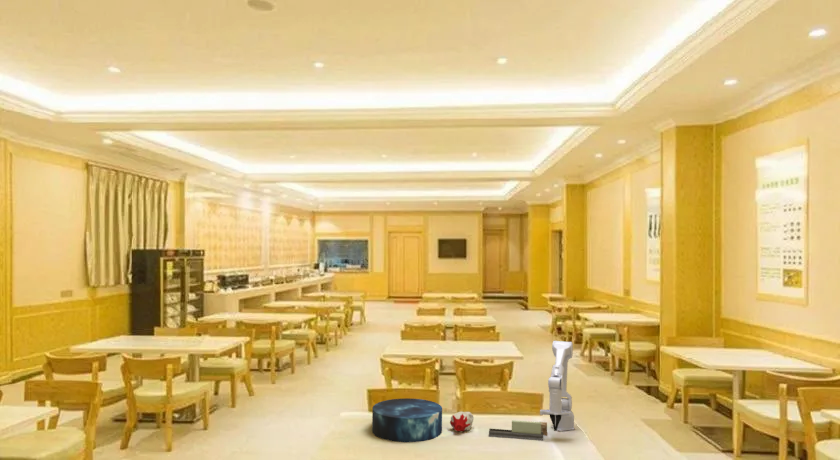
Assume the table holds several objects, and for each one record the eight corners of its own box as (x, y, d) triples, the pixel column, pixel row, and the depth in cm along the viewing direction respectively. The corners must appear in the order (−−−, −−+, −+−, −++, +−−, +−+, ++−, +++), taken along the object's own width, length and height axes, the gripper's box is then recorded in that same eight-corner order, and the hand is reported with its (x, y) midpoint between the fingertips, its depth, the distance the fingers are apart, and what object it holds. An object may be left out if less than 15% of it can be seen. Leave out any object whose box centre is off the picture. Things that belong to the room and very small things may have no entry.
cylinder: (359, 428, 291) (359, 404, 292) (415, 416, 312) (415, 395, 312) (397, 448, 263) (397, 422, 263) (456, 434, 283) (456, 410, 284)
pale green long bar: (540, 434, 279) (541, 422, 279) (540, 436, 277) (541, 423, 277) (511, 432, 282) (511, 420, 282) (511, 433, 280) (511, 421, 280)
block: (536, 431, 288) (536, 421, 288) (546, 432, 287) (546, 422, 287) (536, 435, 283) (536, 424, 283) (547, 435, 282) (547, 425, 282)
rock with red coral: (473, 425, 294) (470, 439, 280) (452, 424, 296) (447, 436, 282) (473, 408, 293) (470, 421, 279) (452, 407, 296) (447, 419, 281)
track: (542, 435, 281) (542, 431, 281) (543, 440, 274) (543, 435, 274) (489, 431, 286) (489, 427, 286) (488, 436, 280) (488, 431, 280)
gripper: (540, 403, 274) (540, 431, 274) (571, 405, 271) (571, 434, 271) (540, 399, 281) (539, 427, 280) (570, 401, 278) (570, 429, 278)
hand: (555, 430), depth 276 cm, fingers closed
